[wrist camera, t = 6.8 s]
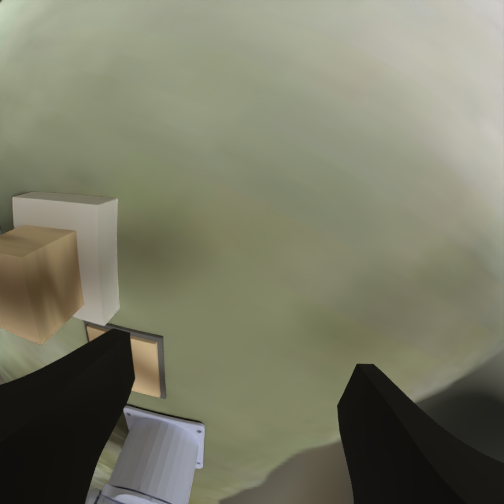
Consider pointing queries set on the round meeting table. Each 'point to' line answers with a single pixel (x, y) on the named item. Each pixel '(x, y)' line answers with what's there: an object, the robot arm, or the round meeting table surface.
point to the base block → (81, 243)
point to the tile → (140, 358)
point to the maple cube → (38, 281)
